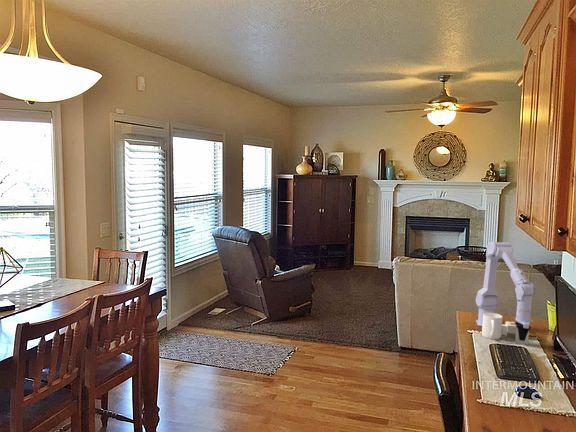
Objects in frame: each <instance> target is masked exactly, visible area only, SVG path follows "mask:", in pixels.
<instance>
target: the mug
mask: <svg viewBox="0 0 576 432" xmlns="http://www.w3.org/2000/svg"><path fill="white" fill-rule="evenodd" d="M502 324H503V315H501V314H499V313H495V312H494V313H484V314H483V324H482V326H481V336H482V337H483V336H484V338H486V339H489V340H500V339H501V337H502V335H501V330H502Z"/></svg>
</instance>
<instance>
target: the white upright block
mask: <svg viewBox="0 0 576 432" xmlns="http://www.w3.org/2000/svg"><path fill="white" fill-rule="evenodd" d="M529 334H530V330H529V331H528V333H527V336H526V339H525V341H522V340H519V332H518V328H517V327H516V332H515V338H514V343H515V344H516V345H526V346H528V345H529V339H528V335H529Z"/></svg>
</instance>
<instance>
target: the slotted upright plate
mask: <svg viewBox="0 0 576 432" xmlns="http://www.w3.org/2000/svg"><path fill="white" fill-rule="evenodd" d="M515 322H516V321H507V320H506V321H505V323H504V324H503V323H502V330H501V336H506V337H507V338H514V339H515V332H516V324H515ZM529 337H530V336H529V335H528V340H529Z"/></svg>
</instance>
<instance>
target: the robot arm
mask: <svg viewBox="0 0 576 432" xmlns="http://www.w3.org/2000/svg"><path fill="white" fill-rule="evenodd" d="M513 253H514V248H513V246H512V243H510V242H509V241H506V242H502V241H501V242H494V241H491V242H489V243H488V244H487V245H486V252H485V258H486V259H485V260H486V261H485V268H484V269H485V270H484V278H483V279H484V280H483V287H482V288H481V289H479V290H477V294H476V296H475V304H476V306H477V308H478V316H477V319H475V322H476V324H477V326H478V327H482V324H483V314H484V313H495V309H496V308H497V307H498V306H499V304H500V298H499V293H498V291H496V281H497V280H496V279H497V274H498V273H497V271H498V265H499V264H498V263H499V260H500V259H502V260H503V261H504V262H505V265H506V266H507V267H508V269H509V270H510V273H509V275H510V277H511V278H510V279H511V280H512V281H513V284H514V286H515V288H514V291H515V294H516V296H515V297H516V301H517V302H516V303H517V304H516V312H515V313H516V314H515V319H514V320H515V321H514V322H515V324H516V327H517V328H518V332H519V340H522V341H525V339H526V336H527V333H528V331H529V332H530V330H531V328H532V326H530V324H531V323H534V320H533V319H531V316H532V315H531V314H532V303H533V297H534V296H535V295H536V292H537V290H536V287H535V283H532V282H531V281H530V280H529V279H528V278H527V276H526V274H525V272H524V271H523V269H522V268H519V267H518V264H517V261H516V259H515V257H514V255H513Z"/></svg>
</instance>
